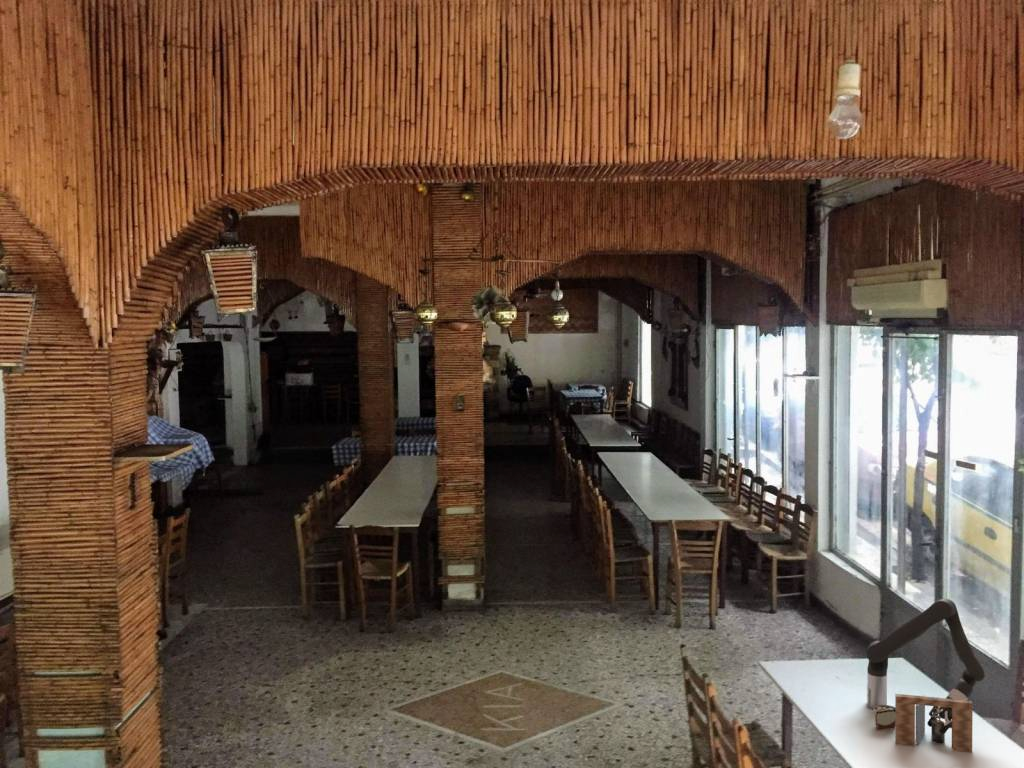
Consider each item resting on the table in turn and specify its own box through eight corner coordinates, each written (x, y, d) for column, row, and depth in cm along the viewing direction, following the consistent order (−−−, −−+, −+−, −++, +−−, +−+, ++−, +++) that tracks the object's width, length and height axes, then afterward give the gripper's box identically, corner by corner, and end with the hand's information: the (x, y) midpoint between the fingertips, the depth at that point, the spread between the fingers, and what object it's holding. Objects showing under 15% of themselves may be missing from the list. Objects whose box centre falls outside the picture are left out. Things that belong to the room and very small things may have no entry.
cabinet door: (918, 743, 397) (918, 706, 395) (912, 742, 398) (912, 704, 397) (924, 732, 408) (925, 695, 407) (919, 730, 409) (919, 694, 408)
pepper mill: (932, 742, 398) (932, 720, 397) (930, 737, 403) (930, 715, 403) (945, 744, 396) (945, 721, 396) (943, 738, 402) (943, 716, 401)
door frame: (896, 744, 398) (896, 696, 396) (895, 741, 401) (895, 693, 399) (972, 752, 388) (972, 703, 387) (970, 749, 391) (971, 700, 390)
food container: (889, 722, 419) (889, 702, 419) (897, 728, 413) (897, 708, 413) (867, 725, 417) (867, 705, 416) (875, 731, 411) (875, 711, 410)
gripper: (938, 690, 408) (919, 718, 405) (962, 702, 394) (942, 731, 391) (947, 699, 410) (927, 727, 407) (971, 712, 396) (951, 740, 393)
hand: (935, 729), depth 399 cm, fingers open, 7 cm apart
